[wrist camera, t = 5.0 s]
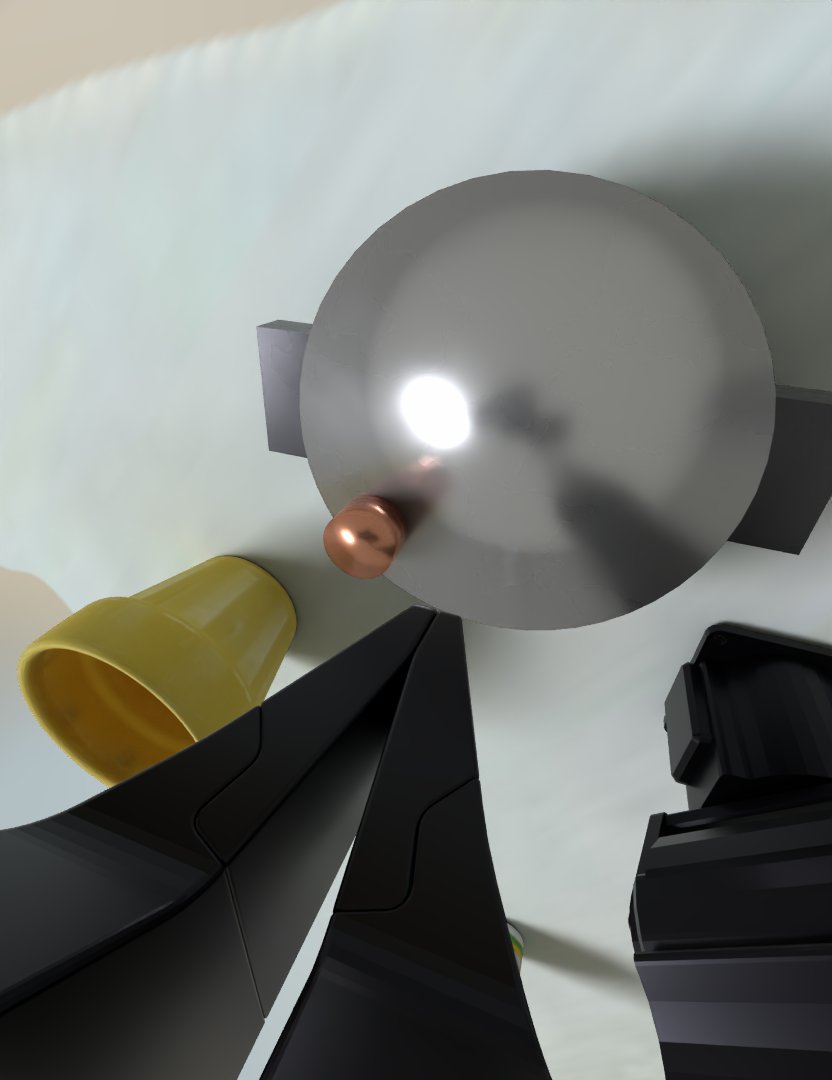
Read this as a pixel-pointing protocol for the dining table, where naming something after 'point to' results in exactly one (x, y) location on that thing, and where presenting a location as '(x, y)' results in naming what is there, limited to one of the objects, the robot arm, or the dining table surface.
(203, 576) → the plant pot
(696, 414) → the cooker lid
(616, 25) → the dining table surface
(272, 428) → the cooker pot
